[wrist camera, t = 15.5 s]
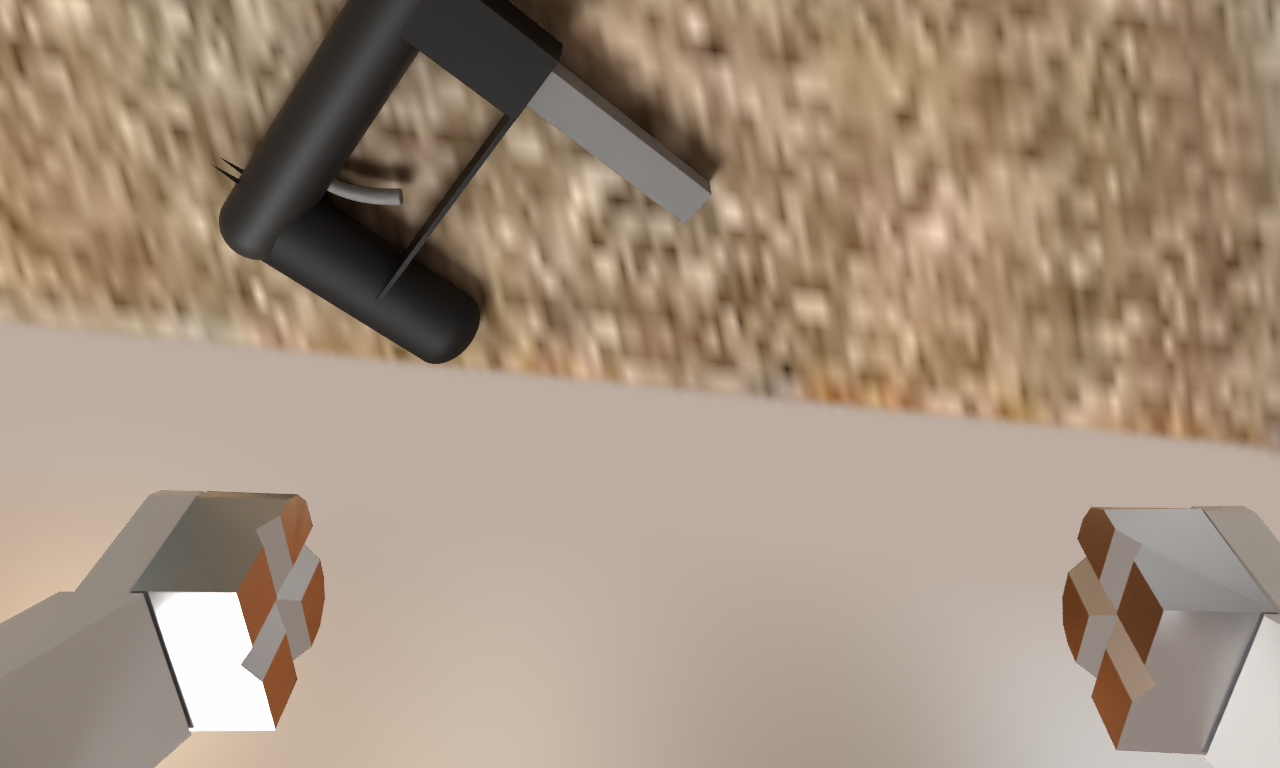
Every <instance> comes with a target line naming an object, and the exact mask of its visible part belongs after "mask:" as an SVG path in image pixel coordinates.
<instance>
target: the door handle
mask: <svg viewBox="0 0 1280 768" xmlns="http://www.w3.org/2000/svg"><path fill="white" fill-rule="evenodd" d="M562 46H563V45H562V44H561V43H560V42H559V41H557V40H556V39H555V38H554V37H552V36H551V35H550V34H549V33H548V32H546V31H545V30H544V29H543V28H541V27H540V26H539V25H538V24H536V23H535V22H534V21H533V20H532V19H530V18H529V17H528V16H527V15H525V14H524V13H523V12H522V11H520V10H519V9H518V8H517V7H515V6H514V5H513V4H512V3H511V2H509V1H508V0H348V1H347V3H346V5H345V6H344V8H343V10H342V11H341V13H340V14H339V16H338V18H337V19H336V21H335V23H334V24H333V26H332V28H331V29H330V31H329V32H328V34H327V36H326V37H325V39H324V41H323V42H322V44H321V46H320V47H319V49H318V50H317V52H316V54H315V55H314V57H313V59H312V60H311V62H310V64H309V65H308V67H307V68H306V70H305V72H304V73H303V75H302V77H301V78H300V80H299V82H298V83H297V85H296V86H295V88H294V90H293V91H292V93H291V95H290V96H289V98H288V100H287V101H286V103H285V104H284V106H283V108H282V109H281V111H280V113H279V114H278V116H277V118H276V119H275V121H274V122H273V124H272V126H271V127H270V129H269V131H268V132H267V134H266V136H265V137H264V139H263V140H262V142H261V144H260V145H259V147H258V149H257V150H256V152H255V154H254V155H253V157H252V158H251V160H250V162H249V163H248V165H247V167H246V168H245V170H242V169H240V168H239V167H237V166H235V165H233V164H231V163H229V162H228V161H226V160H224V159H223V160H224V161H225V162H227V163H228V164H229V165H231V166H232V167H233V168H235V169H236V170H237V171H239V172H240V173H241V174H242V175H241V176H240V178H239V179H237V178H236V177H234V176H232V175H230V174H228V173H226V172H225V171H223V170H221V169H219V168H217V167H215V166H214V167H215V168H217V169H218V170H219V171H221V172H222V173H223V174H225V175H226V176H227V177H229V178H230V179H231V180H233V181H234V182H235V183H236V185H235V186H234V188H233V189H232V191H231V193H230V194H229V196H228V198H227V199H226V201H225V203H224V204H223V206H222V208H221V211H220V216H219V227H220V231H221V234H222V236H223V238H224V240H225V242H226V243H227V244H228V246H229V247H230V248H231V249H232V250H234V251H235V252H236V253H238V254H239V255H241V256H243V257H246V258H249V259H254V260H262V261H263V262H265V263H266V264H268V265H270V266H271V267H273V268H275V269H276V270H278V271H279V272H281V273H283V274H284V275H286V276H288V277H289V278H291V279H292V280H294V281H296V282H297V283H299V284H300V285H302V286H304V287H305V288H307V289H309V290H310V291H312V292H313V293H315V294H317V295H318V296H320V297H322V298H323V299H325V300H326V301H328V302H330V303H331V304H333V305H334V306H336V307H338V308H339V309H341V310H343V311H344V312H346V313H347V314H349V315H351V316H352V317H354V318H356V319H357V320H359V321H360V322H362V323H364V324H365V325H367V326H368V327H370V328H372V329H373V330H375V331H377V332H378V333H380V334H381V335H383V336H385V337H386V338H388V339H390V340H391V341H393V342H394V343H396V344H398V345H399V346H401V347H402V348H404V349H406V350H407V351H409V352H411V353H412V354H414V355H415V356H417V357H419V358H420V359H422V360H424V361H425V362H428V363H432V364H440V363H445V362H448V361H450V360H452V359H454V358H456V357H457V356H458V355H460V354H461V353H462V352H463V351H464V350H465V349H466V348H467V347H468V346H469V345H470V343H471V342H472V340H473V338H474V337H475V335H476V332H477V330H478V326H479V321H480V313H479V308H478V306H477V304H476V302H475V301H474V300H473V299H472V298H471V297H470V296H468V295H467V294H465V293H464V292H462V291H461V290H459V289H458V288H456V287H454V286H453V285H451V284H450V283H448V282H447V281H445V280H444V279H442V278H441V277H439V276H438V275H436V274H435V273H433V272H432V271H430V270H429V269H427V268H425V267H424V266H422V265H421V264H419V263H418V262H416V261H415V260H413V257H414V256H415V255H416V253H417V252H418V251H419V249H420V248H421V247H422V245H423V244H424V243H425V241H426V240H427V239H428V237H429V236H430V234H431V233H432V232H433V230H434V229H435V228H436V226H437V225H438V224H439V222H440V221H441V220H442V218H443V217H444V216H445V214H446V213H447V212H448V210H449V209H450V208H451V206H452V205H453V203H454V202H455V201H456V199H457V198H458V197H459V195H460V194H461V193H462V191H463V190H464V189H465V187H466V186H467V185H468V183H469V182H470V181H471V179H472V178H473V176H474V175H475V174H476V172H477V171H478V170H479V168H480V167H481V166H482V164H483V163H484V162H485V160H486V159H487V158H488V156H489V155H490V154H491V152H492V151H493V150H494V148H495V147H496V145H497V144H498V143H499V141H500V140H501V139H502V137H503V136H504V135H505V133H506V132H507V131H508V129H509V128H510V127H511V125H512V124H513V123H514V121H516V119H517V118H518V116H519V115H520V114H521V112H522V111H523V110H524V108H525V107H526V106H528V107H529V108H530V109H532V110H533V111H534V112H536V113H537V114H538V115H540V116H541V117H542V118H544V119H545V120H546V121H548V122H549V123H550V124H552V125H553V126H554V127H556V128H557V129H558V130H560V131H561V132H562V133H564V134H565V135H566V136H568V137H569V138H570V139H572V140H573V141H574V142H576V143H577V144H578V145H580V146H581V147H582V148H584V149H585V150H586V151H588V152H589V153H590V154H592V155H593V156H594V157H596V158H597V159H598V160H600V161H601V162H602V163H604V164H605V165H606V166H608V167H609V168H610V169H612V170H613V171H614V172H616V173H617V174H618V175H620V176H621V177H622V178H624V179H625V180H626V181H628V182H629V183H630V184H632V185H633V186H634V187H636V188H637V189H638V190H640V191H641V192H642V193H644V194H645V195H646V196H648V197H649V198H650V199H652V200H653V201H654V202H656V203H657V204H658V205H660V206H661V207H662V208H664V209H665V210H666V211H668V212H669V213H670V214H672V215H673V216H674V217H676V218H677V219H678V220H680V221H681V222H682V223H684V224H686V223H687V222H688V220H689V219H690V218H691V217H692V216H693V215H694V214H695V213H696V211H697V210H698V209H699V208H700V207H701V206H702V205H703V203H704V202H705V201H706V200H707V199H708V198H709V197H710V196H711V189H710V184H709V182H708V181H707V180H706V179H704V178H703V177H702V176H701V175H699V174H698V173H697V172H696V171H694V170H693V169H692V168H691V167H690V166H688V165H687V164H686V163H685V162H683V161H682V160H681V159H680V158H678V157H677V156H676V155H675V154H673V153H672V152H671V151H670V150H668V149H667V148H666V147H665V146H663V145H662V144H661V143H660V142H658V141H657V140H656V139H655V138H653V137H652V136H651V135H650V134H648V133H647V132H646V131H645V130H643V129H642V128H641V127H640V126H639V125H637V124H636V123H635V122H634V121H632V120H631V119H630V118H629V117H627V116H626V115H625V114H624V113H622V112H621V111H620V110H619V109H617V108H616V107H615V106H614V105H612V104H611V103H610V102H609V101H607V100H606V99H605V98H604V97H602V96H601V95H600V94H599V93H597V92H596V91H595V90H593V89H592V88H591V87H590V86H588V85H587V84H586V83H584V82H583V81H582V80H581V79H579V78H578V77H577V76H576V75H574V74H573V73H572V72H570V71H569V70H568V69H567V68H565V67H564V66H563V65H561V64H560V63H559V59H560V55H561V50H562ZM419 51H421V52H422V53H423V54H425V55H426V56H427V57H429V58H430V59H432V60H433V61H434V62H436V63H437V64H438V65H440V66H441V67H442V68H444V69H445V70H446V71H448V72H449V73H450V74H452V75H453V76H454V77H456V78H457V79H459V80H460V81H461V82H463V83H464V84H465V85H467V86H468V87H469V88H471V89H472V90H473V91H475V92H476V93H477V94H479V95H480V96H481V97H483V98H484V99H486V100H487V101H488V102H490V103H491V104H492V105H494V106H495V107H496V108H498V109H499V110H500V111H502V112H503V113H504V114H505V115H504V117H503V118H502V119H501V121H500V122H499V123H498V125H497V126H496V127H495V129H494V130H493V132H492V133H491V134H490V136H489V137H488V138H487V140H486V141H485V142H484V144H483V145H482V146H481V148H480V149H479V151H478V152H477V153H476V155H475V156H474V157H473V159H472V160H471V161H470V163H469V164H468V166H467V167H466V168H465V170H464V171H463V172H462V174H461V175H460V176H459V178H458V179H457V181H456V182H455V183H454V185H453V186H452V187H451V189H450V190H449V191H448V193H447V194H446V196H445V197H444V198H443V200H442V201H441V202H440V204H439V205H438V206H437V208H436V209H435V211H434V212H433V213H432V215H431V216H430V217H429V219H428V220H427V221H426V223H425V224H424V226H423V227H422V228H421V230H420V231H419V232H418V234H417V235H416V236H415V238H414V239H413V241H412V242H411V243H410V245H409V246H408V247H407V249H406V250H405V251H404V253H403V252H401V251H400V250H398V249H396V248H395V247H393V246H392V245H390V244H389V243H387V242H386V241H384V240H383V239H381V238H380V237H378V236H377V235H375V234H374V233H372V232H371V231H369V230H368V229H366V228H364V227H363V226H361V225H360V224H358V223H357V222H355V221H354V220H352V219H351V218H349V217H348V216H346V215H345V214H343V213H342V212H340V211H339V210H337V209H335V208H334V207H332V206H331V205H329V204H328V203H326V202H325V201H323V200H322V199H321V198H322V197H323V195H324V194H325V192H326V191H327V190H328V191H329V192H331V193H334V194H336V195H338V196H341V197H344V198H347V199H350V200H354V201H358V202H363V203H369V204H378V205H402V204H403V193H402V190H401V189H400V188H399V189H381V188H369V187H362V186H356V185H352V184H348V183H345V182H342V181H339V180H337V179H335V177H336V176H337V174H338V173H339V171H340V170H341V168H342V167H343V165H344V164H345V162H346V161H347V159H348V158H349V156H350V155H351V153H352V152H353V150H354V149H355V147H356V146H357V144H358V143H359V141H360V140H361V138H362V137H363V135H364V134H365V132H366V131H367V129H368V128H369V126H370V125H371V123H372V122H373V120H374V119H375V117H376V116H377V114H378V113H379V111H380V110H381V108H382V107H383V105H384V104H385V102H386V101H387V99H388V98H389V96H390V95H391V93H392V92H393V90H394V89H395V87H396V86H397V84H398V83H399V81H400V80H401V78H402V77H403V75H404V74H405V72H406V71H407V69H408V68H409V66H410V65H411V63H412V62H413V60H414V59H415V57H416V56H417V54H418V53H419ZM221 159H222V158H221ZM211 165H212V164H211Z"/></svg>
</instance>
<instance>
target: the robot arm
mask: <svg viewBox="0 0 1280 768" xmlns="http://www.w3.org/2000/svg"><path fill="white" fill-rule="evenodd" d="M312 527H313V525H312V521H311V517H310V513H309V510H308V506H307V502H306V501H305V500H304V499H303V498H301V497H300V496H299V495H297V494H270V493H244V492H217V491H216V492H215V491H207V492H202V491H168V490H167V491H166V490H161V491H159V492H156V493H154V494H151V495H149V496H148V497H147V499H146V500H145V501H144V502H143V504H142V505H141V506H140V508H139V509H138V510H137V511H136V513H135V514H134V515H133V517H132V518H131V519H130V521H129V522H128V523H127V524H126V526H125V527H124V528H123V530H122V531H121V532H120V533H119V535H118V536H117V537H116V539H115V540H114V541H113V543H112V544H111V545H110V546H109V548H108V549H107V550H106V552H105V553H104V554H103V556H102V557H101V558H100V559H99V561H98V562H97V563H96V565H95V566H94V567H93V569H92V570H91V571H90V572H89V574H88V575H87V577H86V578H85V579H84V580H83V581H82V583H81V584H80V585H79V587H78V588H77V589H76V591H75V592H58V593H56V594H54V595H53V596H51V597H49V598H47V599H45V600H43V601H42V602H40V603H38V604H36V605H34V606H32V607H30V608H29V609H27V610H25V611H23V612H21V613H19V614H18V615H16V616H14V617H12V618H10V619H8V620H6V621H5V622H3V623H1V624H0V768H154V767H155V766H156V765H158V763H160V762H161V761H162V760H163V759H164V758H165V757H167V756H168V755H169V754H170V753H171V752H172V751H174V750H175V749H176V748H177V747H178V746H179V745H180V744H181V743H183V742H184V741H185V740H186V739H187V738H188V737H190V736H191V731H190V730H275V729H276V726H277V724H278V722H279V720H280V717H281V715H282V713H283V710H284V708H285V706H286V704H287V701H288V699H289V697H290V695H291V693H292V690H293V688H294V686H295V684H296V681H297V676H296V672H295V667H294V663H293V660H294V659H295V658H296V657H298V656H299V655H301V654H302V653H304V652H305V651H306V650H308V649H309V648H310V647H312V644H313V642H314V639H315V637H316V634H317V632H318V630H319V627H320V624H321V618H322V612H323V606H324V600H325V592H324V575H323V571H322V566H321V561H320V559H319V558H318V557H317V556H316V555H315V554H314V553H313V552H312V551H311V550H310V549H309V548H308V547H306V546H305V545H304V543H305V541H306V539H307V537H308V535H309V533H310V531H311V529H312ZM1077 539H1078V541H1079V543H1080V545H1081V547H1082V549H1083V551H1084V553H1085V554H1086V556H1087V557H1086V558H1085V559H1084V560H1082V561H1081V562H1080V563H1079V564H1077V566H1075V567H1074V568H1073V569H1072V570H1070V571H1069V572H1068V575H1067V580H1066V584H1065V589H1064V593H1063V597H1062V599H1063V600H1062V601H1063V626H1064V630H1065V634H1066V638H1067V642H1068V645H1069V648H1070V650H1071V652H1072V654H1073V657H1074V659H1075V661H1076V663H1077V664H1079V665H1080V666H1081V667H1083V668H1084V669H1086V670H1087V671H1088V672H1090V673H1091V674H1092V675H1094V676H1095V677H1096V678H1097V680H1096V683H1095V686H1094V690H1093V693H1092V699H1093V701H1094V703H1095V706H1096V707H1097V710H1098V712H1099V714H1100V716H1101V718H1102V721H1103V723H1104V725H1105V727H1106V729H1107V731H1108V734H1109V736H1110V738H1111V740H1112V742H1113V744H1114V746H1115V749H1116V750H1124V751H1143V752H1163V753H1183V754H1203V755H1205V754H1206V757H1205V759H1206V760H1207V761H1208V762H1209V763H1211V764H1212V765H1213V766H1214V767H1215V768H1280V542H1279V541H1278V540H1277V539H1276V537H1275V536H1274V535H1273V533H1272V532H1271V531H1270V530H1269V529H1268V527H1267V526H1266V525H1265V524H1264V523H1263V521H1262V520H1261V519H1260V517H1259V516H1258V515H1257V514H1256V513H1255V512H1253V511H1252V510H1250V509H1248V508H1246V507H1244V506H1208V507H1207V506H1206V507H1191V508H1112V507H1110V508H1109V507H1091V508H1090V509H1089V511H1088V513H1087V514H1086V515H1085V517H1084V518H1083V521H1082V524H1081V527H1080V531H1079V535H1078V538H1077Z"/></svg>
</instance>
